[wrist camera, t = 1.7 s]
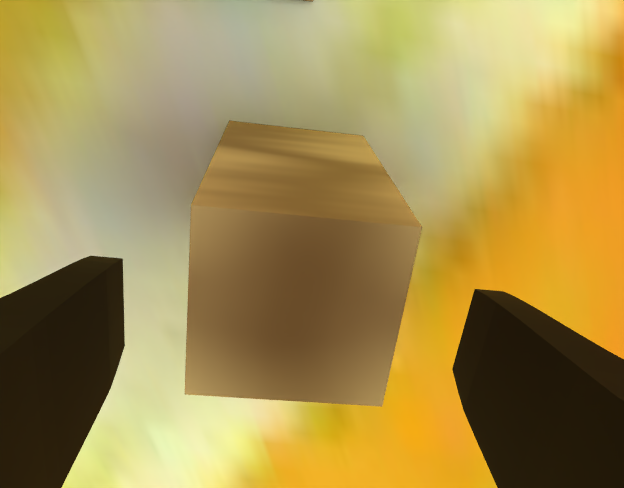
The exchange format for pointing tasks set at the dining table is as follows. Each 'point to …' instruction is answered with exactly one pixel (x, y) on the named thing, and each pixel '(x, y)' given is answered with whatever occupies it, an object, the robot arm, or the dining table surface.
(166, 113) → the dining table surface
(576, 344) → the robot arm
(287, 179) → the birch peg
